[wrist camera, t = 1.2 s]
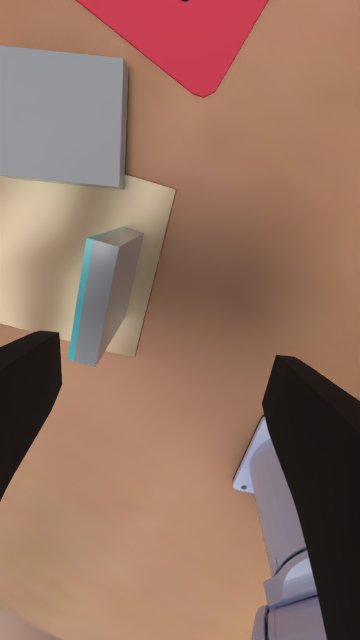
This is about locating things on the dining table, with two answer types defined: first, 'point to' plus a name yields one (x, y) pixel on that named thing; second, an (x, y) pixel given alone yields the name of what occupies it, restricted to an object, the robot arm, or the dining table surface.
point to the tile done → (63, 117)
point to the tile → (103, 292)
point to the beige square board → (73, 250)
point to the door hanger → (183, 34)
